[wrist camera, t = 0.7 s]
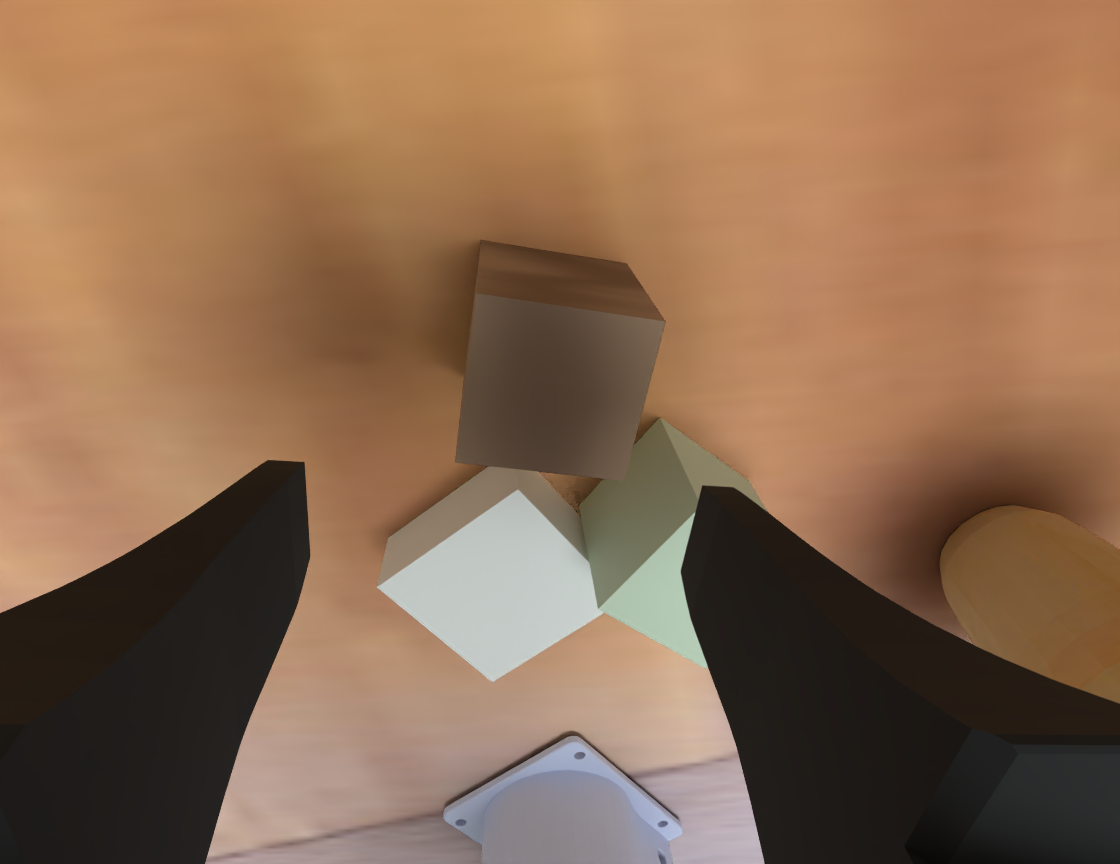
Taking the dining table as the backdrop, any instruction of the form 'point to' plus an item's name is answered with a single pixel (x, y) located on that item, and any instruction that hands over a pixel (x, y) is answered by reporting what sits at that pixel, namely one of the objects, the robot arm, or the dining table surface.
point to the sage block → (652, 534)
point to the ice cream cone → (1038, 595)
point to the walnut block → (556, 363)
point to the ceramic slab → (494, 569)
